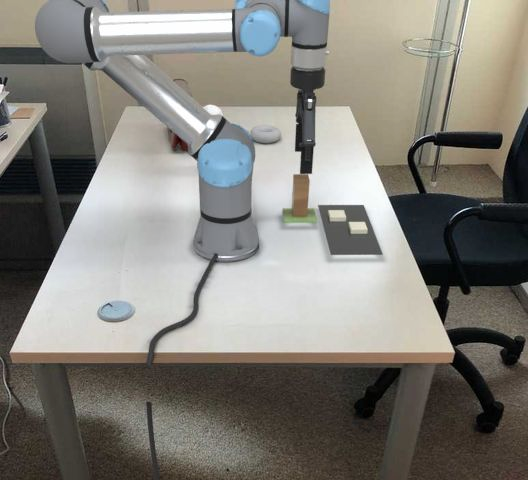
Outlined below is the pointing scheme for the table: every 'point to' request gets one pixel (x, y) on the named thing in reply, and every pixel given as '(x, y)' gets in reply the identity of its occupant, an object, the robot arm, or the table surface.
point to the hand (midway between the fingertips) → (303, 162)
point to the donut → (265, 134)
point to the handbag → (173, 137)
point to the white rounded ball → (213, 109)
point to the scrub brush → (299, 202)
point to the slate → (341, 236)
